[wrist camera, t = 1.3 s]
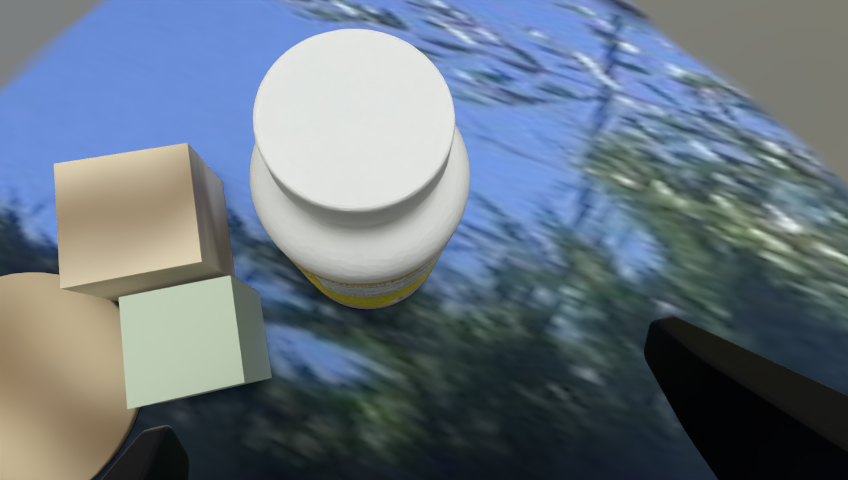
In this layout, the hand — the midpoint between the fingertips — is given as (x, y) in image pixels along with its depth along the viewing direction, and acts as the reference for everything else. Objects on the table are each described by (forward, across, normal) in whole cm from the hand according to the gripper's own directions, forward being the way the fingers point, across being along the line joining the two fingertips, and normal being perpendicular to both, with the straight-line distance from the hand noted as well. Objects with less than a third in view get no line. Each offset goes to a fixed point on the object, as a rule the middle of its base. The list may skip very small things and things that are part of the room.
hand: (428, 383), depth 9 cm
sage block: (+12, +8, +8) cm, 16 cm away
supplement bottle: (+14, 0, +6) cm, 15 cm away
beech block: (+15, +9, +4) cm, 18 cm away
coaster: (+11, +16, +8) cm, 21 cm away
